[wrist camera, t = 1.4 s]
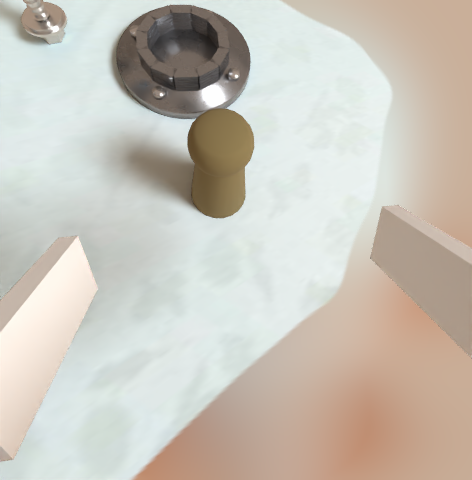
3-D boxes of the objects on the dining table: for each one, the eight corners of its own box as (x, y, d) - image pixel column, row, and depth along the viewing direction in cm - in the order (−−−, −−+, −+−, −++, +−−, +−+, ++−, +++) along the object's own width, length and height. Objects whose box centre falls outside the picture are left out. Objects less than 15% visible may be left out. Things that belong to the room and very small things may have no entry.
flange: (94, 85, 32) (82, 61, 29) (158, -2, 37) (153, -31, 33) (216, 139, 32) (217, 121, 29) (267, 44, 36) (273, 20, 33)
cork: (230, 160, 31) (238, 83, 21) (255, 204, 30) (278, 147, 20) (181, 180, 30) (165, 111, 20) (206, 227, 29) (202, 180, 19)
